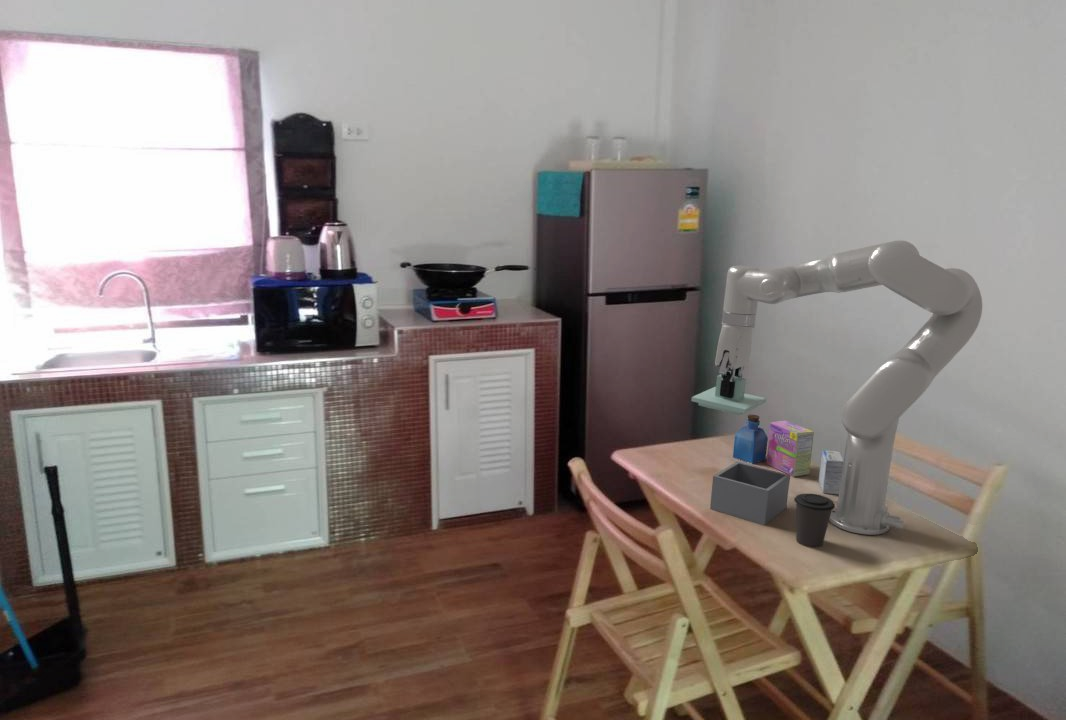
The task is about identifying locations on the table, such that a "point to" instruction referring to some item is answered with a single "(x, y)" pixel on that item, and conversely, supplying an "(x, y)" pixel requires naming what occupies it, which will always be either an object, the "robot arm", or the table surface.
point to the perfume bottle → (750, 441)
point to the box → (790, 448)
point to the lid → (732, 405)
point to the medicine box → (830, 472)
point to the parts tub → (750, 492)
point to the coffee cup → (812, 518)
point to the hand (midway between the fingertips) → (729, 394)
